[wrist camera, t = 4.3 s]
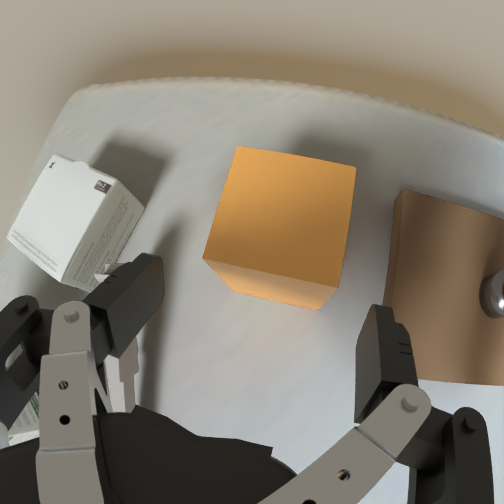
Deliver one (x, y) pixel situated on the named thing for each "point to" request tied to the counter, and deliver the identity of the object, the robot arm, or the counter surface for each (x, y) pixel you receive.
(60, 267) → the small box
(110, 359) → the caliper
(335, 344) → the counter surface
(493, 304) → the grey and tan knob
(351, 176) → the orange rectangular block
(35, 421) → the syrup box
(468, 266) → the board
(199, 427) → the counter surface
